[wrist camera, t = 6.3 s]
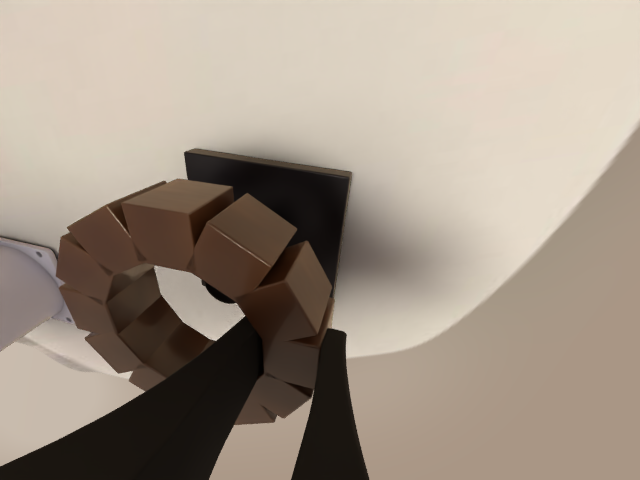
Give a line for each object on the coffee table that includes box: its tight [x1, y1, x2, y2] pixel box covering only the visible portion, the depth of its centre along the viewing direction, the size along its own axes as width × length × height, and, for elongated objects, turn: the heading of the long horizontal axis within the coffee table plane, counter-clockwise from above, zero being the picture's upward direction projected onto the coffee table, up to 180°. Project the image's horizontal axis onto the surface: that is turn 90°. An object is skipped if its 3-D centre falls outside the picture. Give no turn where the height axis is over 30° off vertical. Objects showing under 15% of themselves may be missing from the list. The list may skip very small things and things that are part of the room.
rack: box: [184, 149, 352, 304], centre depth 15 cm, size 9×9×6 cm
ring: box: [55, 179, 335, 425], centre depth 11 cm, size 10×10×2 cm
